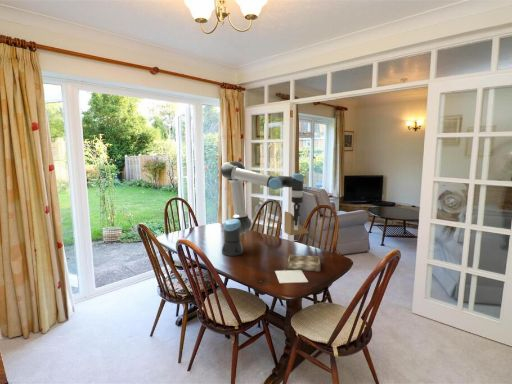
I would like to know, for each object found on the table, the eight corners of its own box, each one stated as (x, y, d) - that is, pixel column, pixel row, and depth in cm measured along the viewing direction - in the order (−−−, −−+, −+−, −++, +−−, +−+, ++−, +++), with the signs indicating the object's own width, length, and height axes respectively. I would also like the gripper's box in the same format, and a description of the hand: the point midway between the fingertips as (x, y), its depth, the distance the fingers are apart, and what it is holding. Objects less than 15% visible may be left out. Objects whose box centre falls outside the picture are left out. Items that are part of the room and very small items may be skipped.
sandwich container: (309, 232, 201) (310, 211, 199) (290, 235, 195) (291, 213, 193) (302, 229, 209) (303, 209, 207) (284, 232, 203) (284, 211, 200)
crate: (287, 269, 181) (287, 261, 180) (289, 260, 195) (289, 253, 194) (320, 271, 177) (320, 264, 176) (319, 262, 192) (319, 255, 191)
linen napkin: (279, 284, 161) (279, 282, 161) (275, 272, 177) (275, 270, 177) (308, 283, 163) (308, 281, 163) (301, 271, 179) (301, 269, 178)
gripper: (302, 199, 185) (301, 232, 188) (303, 194, 209) (302, 223, 212) (290, 199, 187) (289, 232, 190) (292, 193, 210) (291, 222, 213)
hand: (296, 227), depth 201 cm, fingers closed on sandwich container, 12 cm apart
